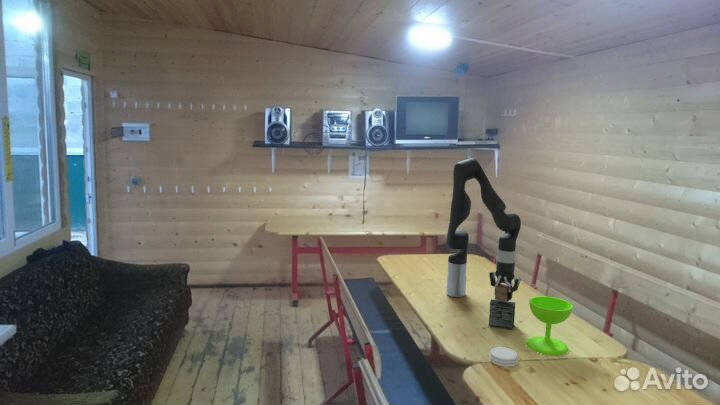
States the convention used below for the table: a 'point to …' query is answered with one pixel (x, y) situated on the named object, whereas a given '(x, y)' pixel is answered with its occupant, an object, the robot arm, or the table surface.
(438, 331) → the table surface
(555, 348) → the wineglass
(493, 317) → the small box
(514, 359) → the white short cylinder
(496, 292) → the walnut block
